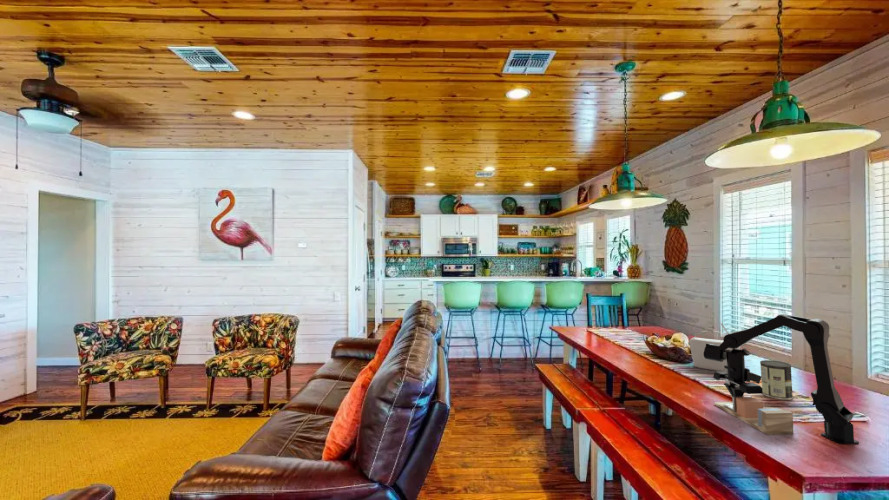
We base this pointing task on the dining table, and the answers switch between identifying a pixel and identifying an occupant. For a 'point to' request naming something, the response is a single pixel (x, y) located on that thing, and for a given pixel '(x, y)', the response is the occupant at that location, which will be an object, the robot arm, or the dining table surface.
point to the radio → (698, 353)
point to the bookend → (734, 405)
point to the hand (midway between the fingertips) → (737, 403)
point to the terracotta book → (749, 407)
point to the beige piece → (766, 420)
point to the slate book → (761, 414)
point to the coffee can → (776, 379)
